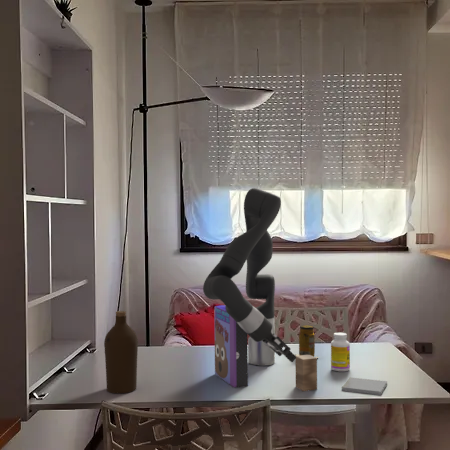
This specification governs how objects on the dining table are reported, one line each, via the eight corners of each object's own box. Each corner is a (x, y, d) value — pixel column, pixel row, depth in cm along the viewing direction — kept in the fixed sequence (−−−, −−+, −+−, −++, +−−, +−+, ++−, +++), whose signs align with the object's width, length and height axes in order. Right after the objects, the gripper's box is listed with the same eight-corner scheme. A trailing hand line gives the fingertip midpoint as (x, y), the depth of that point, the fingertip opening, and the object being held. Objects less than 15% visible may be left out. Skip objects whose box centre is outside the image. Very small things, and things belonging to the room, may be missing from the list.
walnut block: (303, 391, 179) (302, 359, 179) (295, 386, 184) (295, 356, 184) (317, 389, 181) (316, 358, 181) (309, 385, 186) (309, 354, 185)
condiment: (312, 354, 227) (311, 324, 227) (320, 359, 219) (319, 328, 219) (294, 355, 226) (294, 325, 226) (302, 360, 217) (302, 329, 217)
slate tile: (341, 390, 180) (341, 387, 180) (350, 380, 191) (350, 377, 191) (380, 394, 175) (380, 391, 175) (386, 384, 186) (386, 381, 186)
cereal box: (214, 374, 199) (214, 305, 199) (227, 372, 201) (227, 304, 201) (234, 387, 183) (233, 313, 183) (247, 386, 185) (247, 312, 185)
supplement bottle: (350, 372, 200) (349, 336, 200) (330, 371, 201) (330, 335, 201) (349, 367, 207) (349, 332, 206) (331, 366, 208) (330, 331, 208)
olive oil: (131, 395, 176) (130, 314, 176) (99, 393, 179) (98, 313, 178) (143, 385, 187) (142, 309, 186) (113, 383, 189) (112, 308, 189)
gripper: (271, 317, 170) (306, 352, 174) (252, 310, 183) (285, 343, 188) (255, 336, 168) (290, 371, 172) (237, 328, 182) (270, 360, 186)
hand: (287, 356), depth 180 cm, fingers open, 8 cm apart
